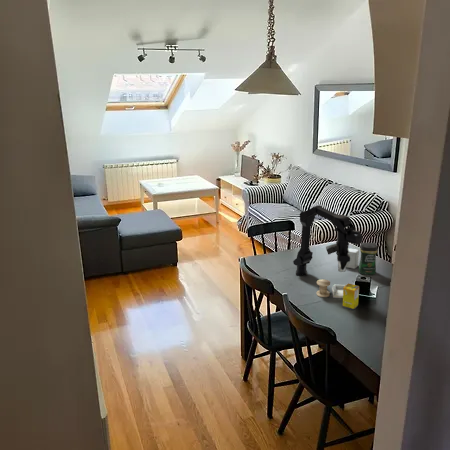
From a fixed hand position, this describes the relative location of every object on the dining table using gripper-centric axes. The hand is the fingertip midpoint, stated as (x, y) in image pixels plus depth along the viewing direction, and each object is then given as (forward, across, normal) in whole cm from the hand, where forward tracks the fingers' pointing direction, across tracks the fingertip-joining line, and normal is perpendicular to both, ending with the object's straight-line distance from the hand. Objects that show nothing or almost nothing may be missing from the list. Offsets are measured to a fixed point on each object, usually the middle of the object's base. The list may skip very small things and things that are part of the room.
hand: (342, 268), depth 227 cm
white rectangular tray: (+13, +4, +1) cm, 14 cm away
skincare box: (+13, -36, +6) cm, 38 cm away
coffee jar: (+13, -25, +16) cm, 33 cm away
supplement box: (+14, +18, +3) cm, 22 cm away
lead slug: (+2, 0, 0) cm, 2 cm away
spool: (+13, +5, -10) cm, 17 cm away
